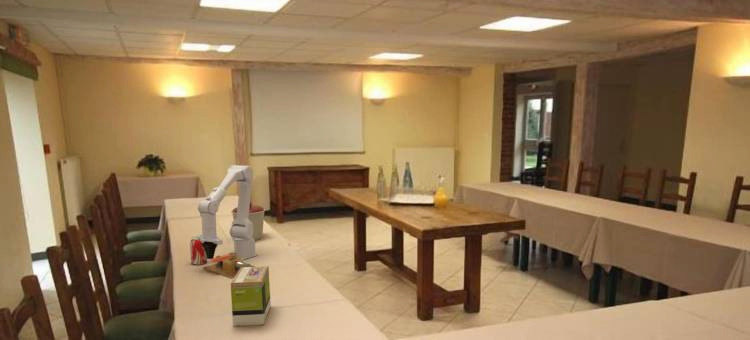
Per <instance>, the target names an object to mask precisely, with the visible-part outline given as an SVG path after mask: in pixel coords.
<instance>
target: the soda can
mask: <svg viewBox="0 0 750 340" xmlns="http://www.w3.org/2000/svg"><path fill="white" fill-rule="evenodd" d="M197 236H198V235H196V236H192V237H191V240H190V241H189V247H190V250H189V251H190V261H191V264H193V265H194V264H195V266H198V265H199V266H201V265H204V264H205V263H207V262H208V259H207V256H206V252H205V250H204V248H203V247H202V245H201V244H202V243H204V242H202V241H201V240H197Z"/></svg>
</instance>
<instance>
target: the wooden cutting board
mask: <svg viewBox="0 0 750 340" xmlns="http://www.w3.org/2000/svg"><path fill="white" fill-rule="evenodd" d="M220 256H221V255H217V256H216V257H220ZM216 257H215V258H216ZM241 267H256V266H254V265H251V264H250V263H247V262H244V260H243V259H242V257H238V256H236V257H234V258H229V259H226V260H223V261H219V262H216V263H212V264H210V265H207V266H204V267H203V268H202V270H205V271H207V272H211V273H213V274H217V275H220V276H224V277H226V278H229V279H234V277H235V276H236V274H237V273H238V271H239V270H240V268H241Z"/></svg>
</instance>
